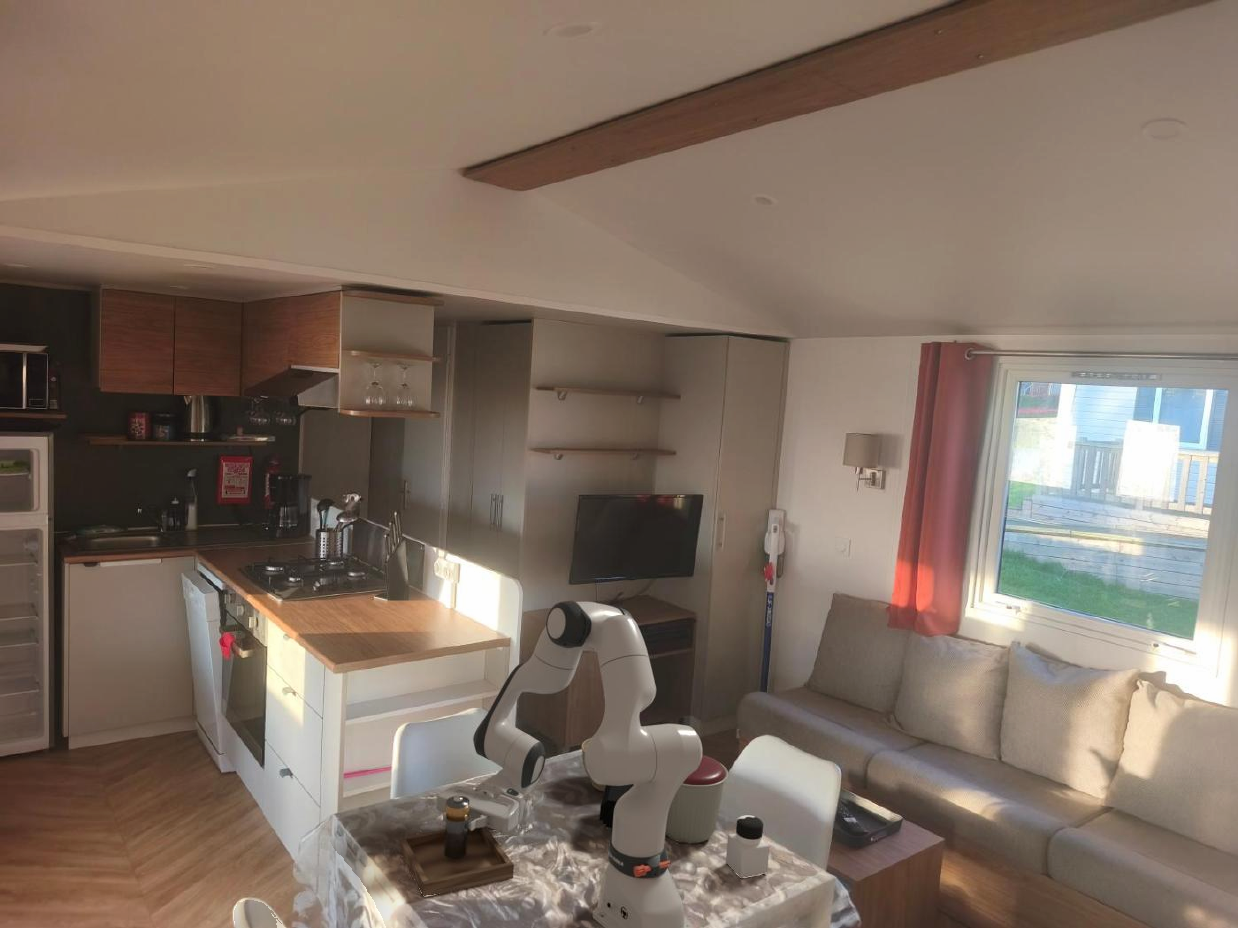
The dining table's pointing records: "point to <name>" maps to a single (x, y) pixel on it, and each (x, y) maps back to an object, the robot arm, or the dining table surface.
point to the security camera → (611, 802)
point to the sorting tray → (454, 861)
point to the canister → (697, 803)
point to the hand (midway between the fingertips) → (456, 822)
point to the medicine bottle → (747, 847)
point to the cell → (456, 827)
